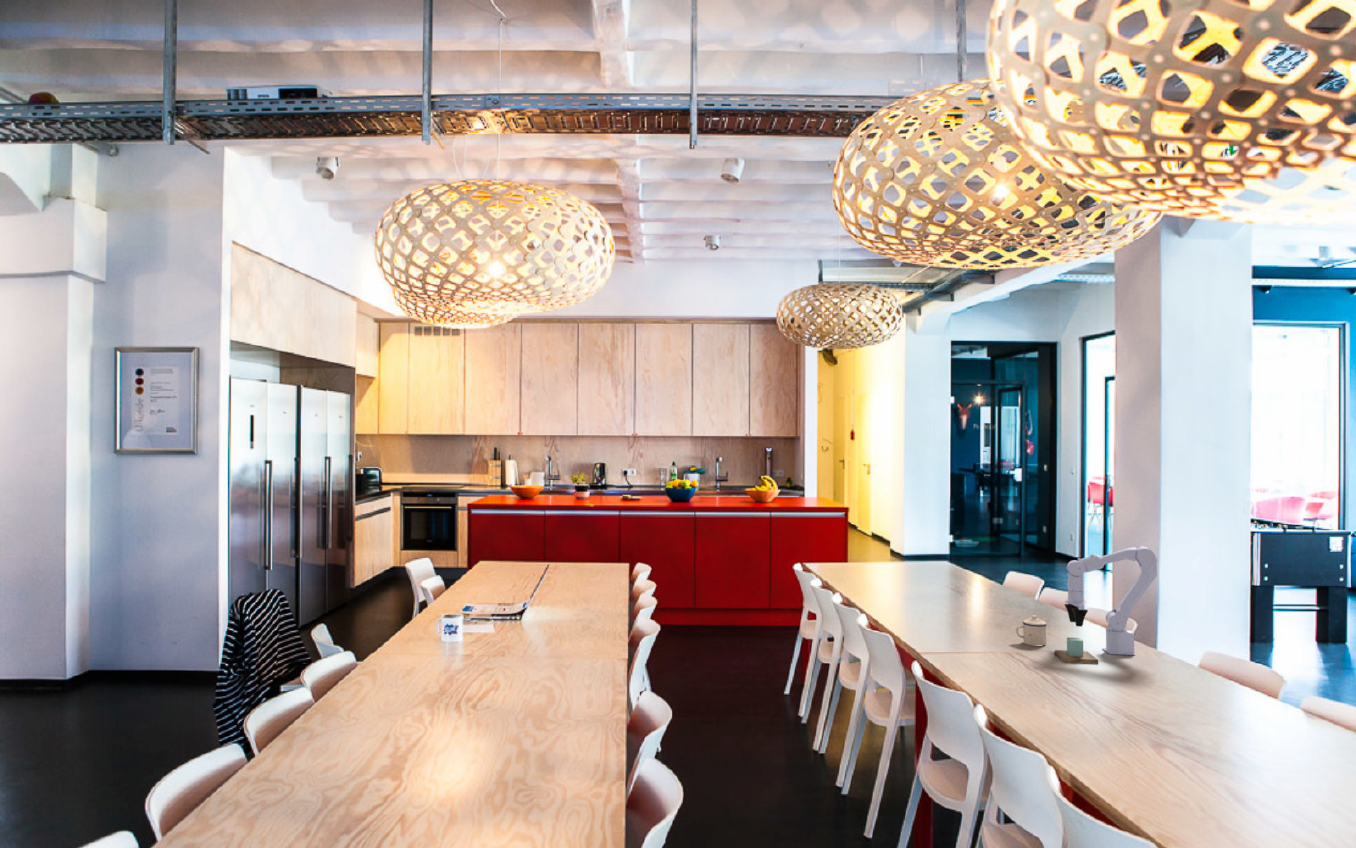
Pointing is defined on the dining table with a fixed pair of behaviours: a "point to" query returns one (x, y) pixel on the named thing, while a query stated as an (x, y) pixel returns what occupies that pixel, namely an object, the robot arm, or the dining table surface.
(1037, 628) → the teacup with lid
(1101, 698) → the dining table surface
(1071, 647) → the teal block
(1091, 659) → the walnut slab
